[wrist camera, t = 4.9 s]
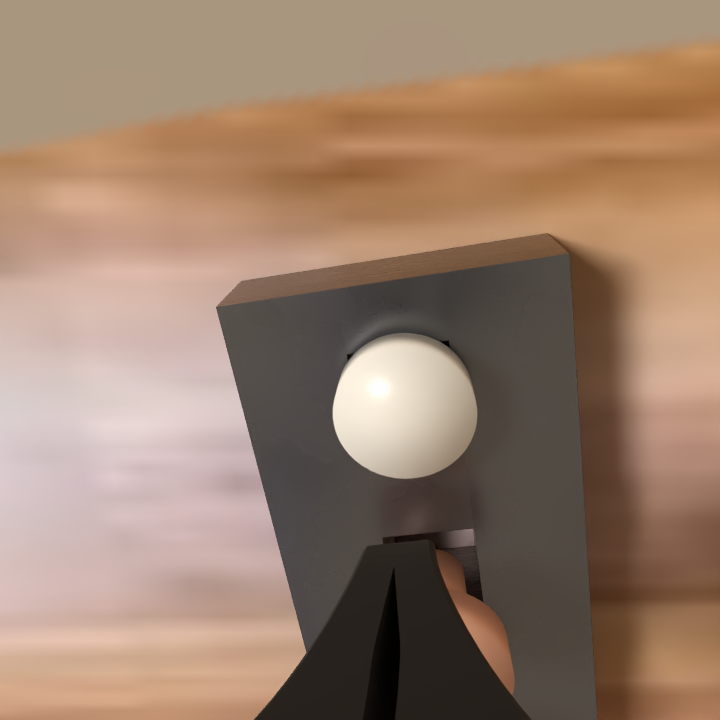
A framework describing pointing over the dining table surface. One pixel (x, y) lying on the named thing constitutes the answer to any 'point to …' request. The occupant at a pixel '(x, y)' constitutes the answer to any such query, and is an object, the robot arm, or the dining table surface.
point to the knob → (405, 406)
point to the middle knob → (478, 620)
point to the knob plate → (460, 479)
